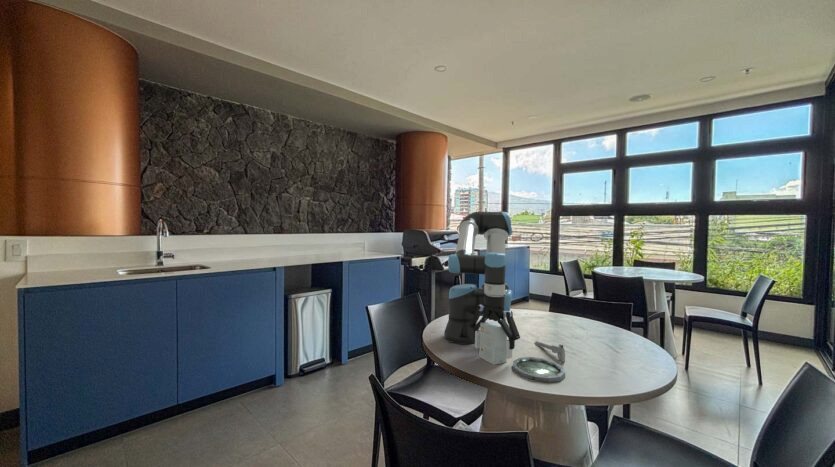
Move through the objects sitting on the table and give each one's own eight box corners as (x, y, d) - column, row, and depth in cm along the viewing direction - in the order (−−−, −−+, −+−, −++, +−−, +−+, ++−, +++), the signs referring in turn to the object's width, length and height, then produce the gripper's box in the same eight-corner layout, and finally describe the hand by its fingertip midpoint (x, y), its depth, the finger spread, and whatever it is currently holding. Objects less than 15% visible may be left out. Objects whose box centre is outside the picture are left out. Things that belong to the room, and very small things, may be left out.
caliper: (565, 363, 122) (565, 346, 121) (562, 363, 121) (562, 346, 121) (536, 343, 142) (536, 328, 142) (534, 343, 142) (534, 328, 141)
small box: (506, 362, 121) (507, 326, 120) (492, 365, 118) (493, 328, 118) (492, 354, 128) (493, 320, 128) (478, 356, 125) (479, 322, 125)
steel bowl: (504, 370, 114) (504, 366, 114) (526, 357, 125) (527, 353, 125) (551, 387, 102) (552, 382, 102) (572, 371, 114) (572, 367, 114)
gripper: (461, 290, 128) (459, 345, 129) (520, 302, 111) (518, 365, 112) (472, 288, 134) (471, 341, 134) (531, 299, 116) (529, 359, 117)
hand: (492, 352), depth 123 cm, fingers open, 13 cm apart
